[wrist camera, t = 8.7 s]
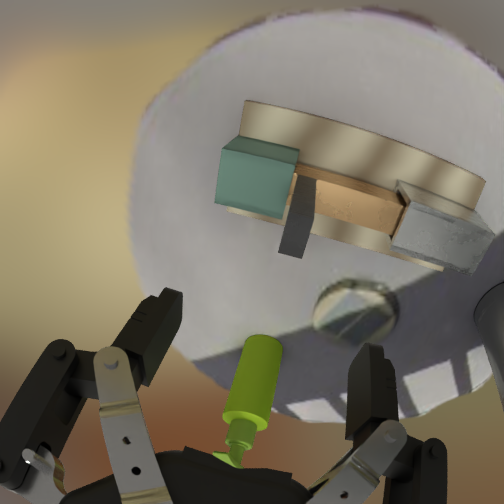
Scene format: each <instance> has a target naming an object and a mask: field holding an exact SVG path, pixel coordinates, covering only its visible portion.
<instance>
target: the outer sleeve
mask: <svg viewBox="0 0 504 504" xmlns="http://www.w3.org/2000/svg"><path fill="white" fill-rule="evenodd" d="M393 192H395V193H397V194H400V195H402V196H403V198H404V200H405V201H406V203H407V205H406V208H405V210H404V213H403V215H402V217H401V220H400V222H399V225H398V227H397V229H396V231H395V234H394V236H393V235H389V234H386V233H384V234H385V237H386V240H387V243H388V246H389V250H391V251H394V252H397V253H400V254H404V255H407V256H410V257H413V258H417V259H420V260H423V261H426V262H429V263H433V264H436V265H439V266H442V267H445V268H448V269H451V270H454V271H457V272H460V273H463V274H466V275H469V276H472V275H473V274H474V272H475V270H476V268H477V267H478V265H479V263H480V262H481V260H482V258H483V256H484V255H485V253H486V251H487V249H488V247H489V245H490V244H491V242H492V240H493V238H494V236H495V234H494V233H493V231H492V230H491V229H490V228H489V227H488V225H487V224H486V223H485V222H484V221H483V219H482V218H481V217H480V216H479V215H478V214H477V212H476V211H475V210H474V209H472V208H469V207H467V206H465V205H463V204H460V203H458V202H456V201H453V200H451V199H448V198H446V197H444V196H441V195H439V194H436V193H434V192H431V191H429V190H426V189H423V188H421V187H418V186H415V185H413V184H410V183H407V182H405V181H402V180H399V179H397V181H396V184H395V187H394V189H393Z"/></svg>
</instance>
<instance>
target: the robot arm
mask: <svg viewBox="0 0 504 504" xmlns="http://www.w3.org/2000/svg"><path fill="white" fill-rule="evenodd" d="M182 304H183V294H182V292H179V291H176V290H173V289H170V288H167V287H166V288H164V289H163V291H162V292H161V294H160V295H159V297H155V296H152V295H151V296H149V297H148V298H146V299H144V300H143V301H141V303H140V304H139V306H138V307H137V309H136V310H135V312H134V313H133V314H132V316H131V318H130V319H129V320H128V322H127V323H126V325H125V326H124V327H123V329H122V330H121V332H120V333H119V335H118V336H117V338H116V339H115V341H114V342H113V344H112V345H111V346H110V347H105V348H102V349H101V350H99V351H98V352H89V351H83V350H76V349H75V347H74V345H73V344H72V343H71V342H69V341H68V340H64V339H58V340H55V341H53V342H51V343H50V344H49V345H48V346H47V347H46V349H45V350H44V352H43V353H42V355H41V356H40V358H39V359H38V361H37V362H36V364H35V365H34V367H33V368H32V370H31V371H30V373H29V374H28V376H27V378H26V379H25V381H24V382H23V384H22V386H21V387H20V389H19V391H18V392H17V394H16V396H15V397H14V399H13V401H12V402H11V404H10V406H9V408H8V409H7V411H6V413H5V415H4V417H3V418H2V420H1V422H0V485H1V486H3V487H4V488H5V489H7V490H10V491H12V492H14V493H16V494H19V495H21V496H22V497H23V498H25V499H26V500H28V501H29V502H31V503H32V504H362V503H363V502H364V501H365V500H366V499H367V498H368V497H369V496H370V494H371V493H372V492H373V491H374V490H375V489H376V487H377V486H378V484H379V482H380V481H379V478H380V476H381V475H383V476H386V479H385V489H384V497H383V504H447V449H446V447H445V445H444V443H443V442H442V441H441V440H439V439H437V438H430V439H428V440H427V441H425V442H423V441H420V440H418V439H416V438H413V437H411V436H409V435H408V434H407V432H406V429H405V428H404V427H403V425H402V424H401V423H400V422H399V417H398V401H397V390H396V382H395V380H396V377H395V369H394V367H393V365H392V363H391V361H390V360H389V359H384V349H383V346H381V345H376V344H371V343H365V344H364V345H363V347H362V348H361V350H360V351H359V353H358V354H357V356H356V357H355V359H354V360H353V361H352V363H351V365H350V368H349V372H348V393H347V416H346V434H345V440H352V441H353V447H352V448H351V449H350V450H349V451H348V452H347V453H346V454H345V455H344V456H343V457H342V458H341V459H340V460H339V461H338V462H337V463H336V464H335V465H334V466H333V467H332V468H331V469H330V470H329V471H327V473H325V474H324V475H323V476H322V477H321V478H319V479H318V480H317V481H316V482H314V483H313V484H312V485H311V486H309V487H308V488H307V489H306V488H305V487H304V486H303V485H301V484H300V483H298V482H297V481H295V480H293V479H291V477H292V473H288V472H283V471H277V470H272V469H267V468H258V469H257V468H254V469H253V468H252V469H251V468H249V469H248V468H236V467H233V466H232V465H230V464H228V463H226V462H224V461H222V460H220V459H219V458H217V457H215V456H213V455H211V454H208V453H205V452H201V451H198V450H195V449H193V448H189V447H187V446H185V448H184V450H183V451H179V450H173V451H164V452H159V453H156V454H155V451H154V448H153V445H152V442H151V439H150V436H149V433H148V430H147V427H146V423H145V420H144V417H143V413H142V409H141V406H140V403H139V398H138V395H137V391H138V389H139V388H140V385H141V384H142V385H145V386H147V387H149V385H150V383H151V381H152V379H153V377H154V375H155V374H156V371H157V370H158V368H159V366H160V364H161V362H162V360H163V358H164V356H165V354H166V352H167V350H168V348H169V347H170V345H171V343H172V341H173V339H174V337H175V335H176V333H177V331H178V329H179V327H180V324H181V321H182ZM474 320H475V323H476V326H477V328H478V331H479V334H480V336H481V339H482V342H483V345H484V348H485V350H486V353H487V356H488V359H489V362H490V365H491V368H492V372H493V375H494V378H495V381H496V385H497V388H498V392H499V395H500V399H501V403H502V407H503V411H504V283H502V284H500V285H498V286H496V287H494V288H493V289H492V290H490V291H489V292H488V293H487V294H486V295H485V296H484V297H483V298H482V299H481V301H480V302H479V304H478V306H477V308H476V310H475V315H474ZM87 398H92V399H98V400H99V402H100V409H99V414H100V420H101V425H102V430H103V434H104V438H105V443H106V447H107V450H108V455H109V459H110V462H111V466H112V469H113V473H114V474H112V475H109V476H107V477H105V478H103V479H100V480H98V481H96V482H93V483H91V484H88V485H86V486H84V487H82V488H78V489H76V490H74V491H71V492H69V493H68V494H67V492H66V491H65V489H64V484H63V479H64V475H65V470H64V466H63V464H62V462H61V461H60V460H59V459H58V458H59V456H60V454H61V452H62V450H63V447H64V445H65V443H66V441H67V439H68V437H69V435H70V433H71V431H72V429H73V426H74V424H75V422H76V420H77V418H78V416H79V414H80V412H81V410H82V408H83V406H84V404H85V402H86V400H87Z"/></svg>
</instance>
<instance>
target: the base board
mask: <svg viewBox="0 0 504 504" xmlns="http://www.w3.org/2000/svg"><path fill="white" fill-rule="evenodd" d="M239 135H240V136H245V137H250V138H254V139H259V140H263V141H268V142H272V143H277V144H281V145H285V146H289V147H293V148H297V149H300V151H299V155H298V159H297V163H298V164H302V165H306V166H309V167H313V168H317V169H320V170H324V171H327V172H331V173H334V174H338V175H341V176H345V177H348V178H351V179H355V180H358V181H361V182H364V183H367V184H370V185H374V186H377V187H380V188H383V189H386V190H389V191H392V192H393V189H394V187H395V184H396V181H397V179H399V180H402V181H405V182H407V183H410V184H413V185H415V186H418V187H421V188H423V189H426V190H429V191H431V192H434V193H436V194H439V195H441V196H444V197H446V198H448V199H451V200H453V201H456V202H458V203H460V204H463V205H465V206H467V207H469V208H472V209H474V208H475V206H476V204H477V202H478V199H479V197H480V195H481V192H482V190H483V187H484V185H485V183H486V181H485V180H484V179H483V178H481V177H479V176H477V175H475V174H473V173H471V172H469V171H467V170H465V169H463V168H461V167H459V166H456V165H454V164H452V163H450V162H448V161H445V160H443V159H441V158H439V157H436V156H434V155H432V154H429V153H427V152H424V151H422V150H419V149H417V148H414V147H412V146H409V145H407V144H404V143H401V142H399V141H396V140H393V139H390V138H388V137H385V136H382V135H379V134H376V133H373V132H370V131H367V130H364V129H361V128H358V127H355V126H351V125H348V124H345V123H342V122H338V121H335V120H331V119H328V118H324V117H320V116H316V115H313V114H309V113H305V112H301V111H296V110H292V109H288V108H284V107H279V106H274V105H270V104H265V103H260V102H254V101H249V100H246V101H245V102H244V108H243V114H242V119H241V125H240V131H239ZM289 207H290V206H288V205H286V206H285V210H284V214H283V217H282V220H280V219H277V218H273V217H269V216H265V215H261V214H257V213H253V212H249V211H245V210H241V209H237V208H233V207H229V206H227V211H228V212H232V213H236V214H240V215H244V216H248V217H252V218H255V219H259V220H263V221H267V222H271V223H275V224H279V225H282V226H285V223H286V219H287V215H288V211H289ZM310 233H312V234H316V235H319V236H323V237H327V238H330V239H334V240H337V241H341V242H345V243H348V244H352V245H355V246H359V247H362V248H366V249H369V250H373V251H376V252H379V253H383V254H386V255H390V256H393V257H396V258H400V259H403V260H406V261H410V262H413V263H416V264H419V265H423V266H426V267H429V268H432V269H436V270H439V271H443V269H444V267H442V266H439V265H436V264H433V263H429V262H426V261H423V260H420V259H417V258H413V257H410V256H407V255H404V254H400V253H397V252H394V251H391V250H389V246H388V243H387V240H386V237H385V234H384V233H383V232H380V231H376V230H373V229H370V228H367V227H363V226H360V225H357V224H353V223H350V222H346V221H343V220H339V219H336V218H332V217H329V216H325V215H322V214H318V213H315V215H314V222H313V225H312V228H311V231H310Z"/></svg>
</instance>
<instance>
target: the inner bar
mask: <svg viewBox="0 0 504 504" xmlns="http://www.w3.org/2000/svg"><path fill="white" fill-rule="evenodd" d="M286 205H288V206H290V207H289V211H288V215H287V219H286V223H285V227H284V231H283V235H282V239H281V243H280V247H279V251H278V253H282V254H286V255H289V256H293V257H297V258H301V259H302V256H303V253H304V250H305V247H306V244H307V241H308V238H309V234H310V231H311V228H312V225H313V222H314V215H315V213H318V214H322V215H325V216H329V217H332V218H336V219H339V220H343V221H346V222H350V223H353V224H357V225H360V226H363V227H367V228H370V229H373V230H376V231H380V232H383V233H386V234H389V235H393V236H394V234H395V231H396V229H397V227H398V225H399V222H400V220H401V217H402V215H403V213H404V210H405V208H406V205H407V203H406V201H405V200H404V198H403V196H402V195H400V194H397V193H395V192H392V191H389V190H386V189H383V188H380V187H377V186H374V185H370V184H367V183H364V182H361V181H358V180H355V179H351V178H348V177H345V176H341V175H338V174H334V173H331V172H327V171H324V170H320V169H317V168H313V167H309V166H306V165H302V164H298V163H296V166H295V169H294V173H293V177H292V181H291V185H290V189H289V193H288V197H287V201H286Z"/></svg>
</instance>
